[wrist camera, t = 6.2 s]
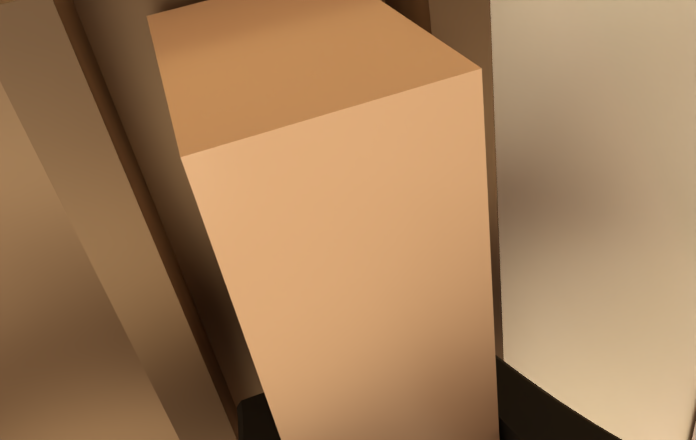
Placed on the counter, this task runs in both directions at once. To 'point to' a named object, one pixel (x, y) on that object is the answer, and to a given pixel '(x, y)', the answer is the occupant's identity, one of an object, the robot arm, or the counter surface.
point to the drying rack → (130, 230)
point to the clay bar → (342, 210)
